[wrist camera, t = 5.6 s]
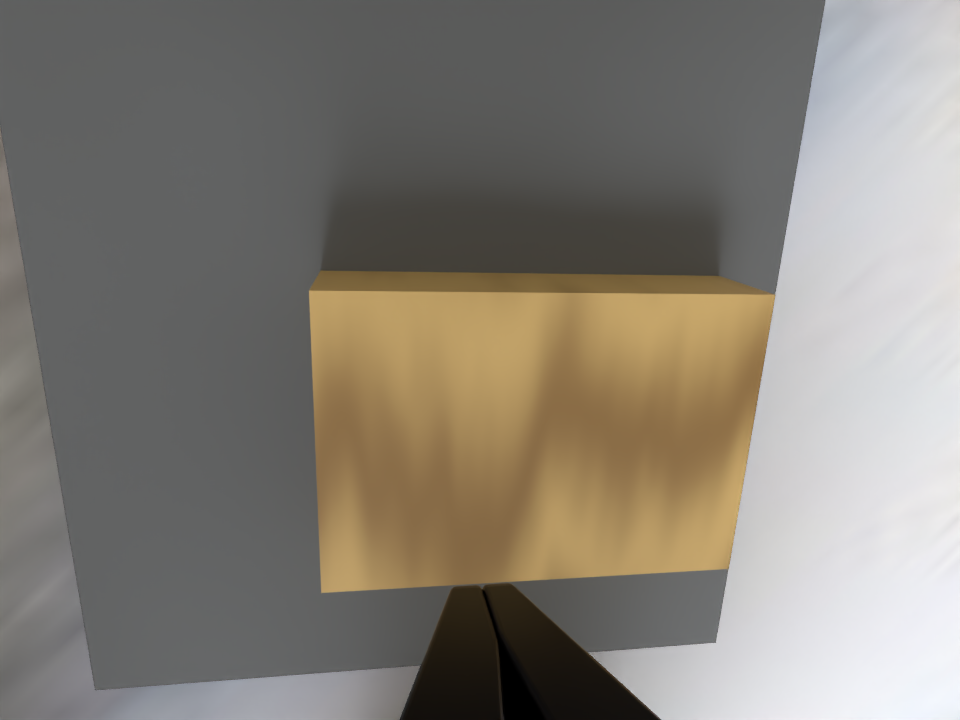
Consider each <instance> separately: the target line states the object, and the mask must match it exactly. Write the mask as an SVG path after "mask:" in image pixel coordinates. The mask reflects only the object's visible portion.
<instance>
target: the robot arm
mask: <svg viewBox="0 0 960 720" xmlns="http://www.w3.org/2000/svg"><path fill="white" fill-rule="evenodd" d="M400 720H661V719H660V718H659V717H658V716H657V715H656V714H654V713H653V712H652V711H651V710H650V709H649V708H648V707H647V706H646V705H645V704H643V703H642V702H641V701H640V700H639V699H638V698H637V697H636V696H635V695H634V694H633V693H631V692H630V691H629V690H628V689H627V688H626V687H625V686H624V685H623V684H622V683H620V682H619V681H618V680H617V679H616V678H615V677H614V676H613V675H612V674H611V673H609V672H608V671H607V670H606V669H605V668H604V667H603V666H602V665H601V664H600V663H598V662H597V661H596V660H595V659H594V658H593V657H592V656H591V655H590V654H589V653H587V652H586V651H585V650H584V649H583V648H582V647H581V646H580V645H579V644H578V643H577V642H575V641H574V640H573V639H572V638H571V637H570V636H569V635H568V634H567V633H566V632H564V631H563V630H562V629H561V628H560V627H559V626H558V625H557V624H556V623H555V622H553V621H552V620H551V619H550V618H549V617H548V616H547V615H546V614H545V613H544V612H542V611H541V610H540V609H539V608H538V607H537V606H536V605H535V604H534V603H533V602H531V601H530V600H529V599H528V598H527V597H526V596H525V595H524V594H523V593H522V592H520V591H519V590H518V589H517V588H516V587H515V586H514V585H512V584H510V583H503V584H487V585H485V586H483V588H481V587H480V586H478V585H471V586H456V587H453V588H452V589H451V590H450V593H449V595H448V598H447V600H446V603H445V605H444V608H443V610H442V613H441V615H440V618H439V621H438V623H437V626H436V628H435V631H434V633H433V636H432V638H431V641H430V643H429V646H428V649H427V651H426V654H425V656H424V659H423V661H422V664H421V666H420V669H419V671H418V674H417V677H416V679H415V682H414V684H413V687H412V689H411V692H410V694H409V697H408V699H407V702H406V705H405V707H404V710H403V712H402V715H401V717H400Z"/></svg>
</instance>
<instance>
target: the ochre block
mask: <svg viewBox="0 0 960 720" xmlns="http://www.w3.org/2000/svg"><path fill="white" fill-rule="evenodd" d="M774 300H775V294H772V293H769V292H766V291H763V290H760V289H757V288H754V287H751V286H748V285H745V284H742V283H739V282H736V281H733V280H730V279H727V278H724V277H721V276H689V275H614V274H538V273H462V272H386V271H320V272H319V274H318V276H317V278H316V279H315V281H314V283H313V285H312V286H311V288H310V290H309V304H310V329H311V353H312V377H313V402H314V426H315V451H316V475H317V500H318V524H319V548H320V573H321V593H328V592H345V591H362V590H379V589H396V588H413V587H430V586H447V585H464V584H481V583H498V582H515V581H532V580H549V579H566V578H583V577H600V576H617V575H634V574H651V573H668V572H685V571H702V570H719V569H729V564H730V558H731V552H732V546H733V540H734V534H735V528H736V523H737V517H738V511H739V505H740V499H741V493H742V487H743V482H744V476H745V470H746V464H747V458H748V452H749V446H750V441H751V435H752V429H753V423H754V417H755V411H756V405H757V400H758V394H759V388H760V382H761V376H762V370H763V364H764V359H765V353H766V347H767V341H768V335H769V329H770V323H771V318H772V312H773V306H774Z"/></svg>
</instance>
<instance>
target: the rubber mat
mask: <svg viewBox="0 0 960 720" xmlns="http://www.w3.org/2000/svg"><path fill="white" fill-rule="evenodd" d="M824 5H825V0H0V128H1V134H2V140H3V146H4V151H5V157H6V163H7V169H8V175H9V181H10V187H11V193H12V199H13V205H14V211H15V217H16V223H17V229H18V235H19V241H20V247H21V252H22V258H23V264H24V270H25V276H26V282H27V288H28V294H29V300H30V306H31V312H32V318H33V324H34V330H35V336H36V342H37V348H38V353H39V359H40V365H41V371H42V377H43V383H44V389H45V395H46V401H47V407H48V413H49V419H50V425H51V431H52V437H53V443H54V449H55V454H56V460H57V466H58V472H59V478H60V484H61V490H62V496H63V502H64V508H65V514H66V520H67V526H68V532H69V538H70V544H71V550H72V556H73V561H74V567H75V573H76V579H77V585H78V591H79V597H80V603H81V609H82V615H83V621H84V627H85V633H86V639H87V645H88V651H89V657H90V662H91V668H92V674H93V680H94V686H95V690H104V689H117V688H130V687H143V686H156V685H169V684H182V683H195V682H209V681H222V680H235V679H248V678H261V677H274V676H287V675H300V674H313V673H326V672H339V671H352V670H365V669H378V668H391V667H404V666H417V665H421V664H422V661H423V659H424V656H425V654H426V651H427V649H428V646H429V643H430V641H431V638H432V636H433V633H434V631H435V628H436V626H437V623H438V621H439V618H440V615H441V613H442V610H443V608H444V605H445V603H446V600H447V598H448V595H449V593H450V590H451V589H452V588H453V587H456V586H471V585H478V586H480V587H481V588H483V586H485V585H487V584H503V583H510V584H512V585H514V586H515V587H516V588H517V589H518V590H519V591H520V592H522V593H523V594H524V595H525V596H526V597H527V598H528V599H529V600H530V601H531V602H533V603H534V604H535V605H536V606H537V607H538V608H539V609H540V610H541V611H542V612H544V613H545V614H546V615H547V616H548V617H549V618H550V619H551V620H552V621H553V622H555V623H556V624H557V625H558V626H559V627H560V628H561V629H562V630H563V631H564V632H566V633H567V634H568V635H569V636H570V637H571V638H572V639H573V640H574V641H575V642H577V643H578V644H579V645H580V646H581V647H582V648H583V649H584V650H585V651H586V652H599V651H612V650H625V649H638V648H651V647H664V646H677V645H690V644H703V643H716V638H717V632H718V626H719V620H720V614H721V608H722V603H723V597H724V591H725V585H726V579H727V573H728V569H719V570H702V571H685V572H668V573H651V574H634V575H617V576H600V577H583V578H566V579H549V580H532V581H515V582H498V583H481V584H464V585H447V586H430V587H413V588H396V589H379V590H362V591H345V592H328V593H321V573H320V548H319V524H318V500H317V475H316V451H315V426H314V402H313V377H312V353H311V329H310V304H309V290H310V288H311V286H312V285H313V283H314V281H315V279H316V278H317V276H318V274H319V272H320V271H386V272H462V273H538V274H614V275H689V276H721V277H724V278H727V279H730V280H733V281H736V282H739V283H742V284H745V285H748V286H751V287H754V288H757V289H760V290H763V291H766V292H769V293H772V294H775V292H776V286H777V280H778V274H779V268H780V263H781V257H782V251H783V245H784V239H785V233H786V227H787V222H788V216H789V210H790V204H791V198H792V192H793V186H794V181H795V175H796V169H797V163H798V157H799V151H800V145H801V140H802V134H803V128H804V122H805V116H806V110H807V104H808V98H809V93H810V87H811V81H812V75H813V69H814V63H815V57H816V52H817V46H818V40H819V34H820V28H821V22H822V16H823V11H824Z"/></svg>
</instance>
